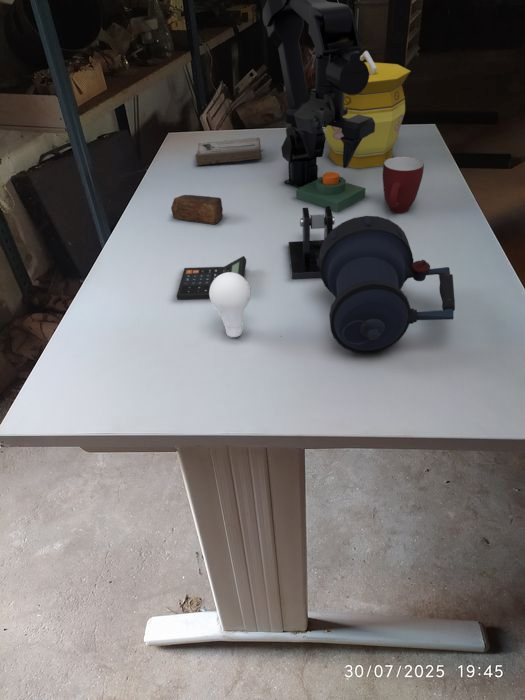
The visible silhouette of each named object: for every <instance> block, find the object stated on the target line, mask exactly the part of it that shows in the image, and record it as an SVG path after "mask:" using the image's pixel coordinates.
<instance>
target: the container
mask: <svg viewBox="0 0 525 700" xmlns="http://www.w3.org/2000/svg"><path fill="white" fill-rule="evenodd" d="M360 60H361V61H363V62H364V63H365V64H366V65H367V68H368V71H369V80H368V83H367V85H366V87H365V88H364V89H363V90H362V91H361V92H360V93H359V94H356V95H348V94H346V93H344V108H346V109H348V111H347V114H346V115H344V116H343V118H347V119H349V118H351V117H354V116H356V115H363V116H367V117H372V118H373V119H374V121H375V132H374V133H371V134H369V135H368V136H366V137H364V138H363V139H362V140H361V142H360V144H359V145H358V147H357V149H356V150H355V153H354V155H353V157H352V159H351V161H350V163H349V165H348V167H347V168H350V169H351V168H353V169H358V170H360V169H367V168H375V167H381V166H382V167H383V166H384V162H385V161H386V160H387V159H390V158H393V150H394V147H395V144H396V143H397V140H398V136H399V133H400V130H401V126H402V123H403V120H404V117H405V114H406V98H405V93H404V89H403V86H402V85H403V84H404V82H405V80H406V79H407V78H408V76H409V74H410V73H411V70H410V69H408V68H406V67H404V66H402V65H400V64H398V63H385V62H375V61H374V60H373V58H372V56H371V55H370V52H369V51H368V50H365V51H364V52H362V54H360ZM364 60H365V61H364ZM335 122H336V121H335ZM324 130H325V131H324V132H325V137H326V141H327V144H328V148H329V156H328V157H329V158H330V159H331V161H332V162H333V163H334V164H335V165H336V166H340V167H343V146H344V144H343V142H342V140H341V139H340V138H341V137H343V136H344V135H343V134H342V132H341V131H342V128H338V127H334V126H329V125H327V126H326V127H324Z"/></svg>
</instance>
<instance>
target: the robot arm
mask: <svg viewBox="0 0 525 700" xmlns="http://www.w3.org/2000/svg"><path fill="white" fill-rule="evenodd" d="M304 21H305V22H306V23H307V24H308V35H309V37H310V39H311V40H312V42H313V45H314V47H313V49H312V53H313V54H315V70H314V71H315V75H314V77H315V78H314V79H315V80H314V88H312V89H310V93H309V90H308V85H307V80H306V74H305V69H304V63H303V58H302V57H303V55H302V52H301V46H300V39H301V36H302V32H303V30H304V26H305V25H304V24H305V23H304ZM262 22H263V25H264V27H265V28H266V33H267V36H268V39H269V40H270V41H271V42H272V43H273V45H274V46H275V47H276V48H277V50H278V54H279V55H278V56H279V61H280V67H281V73H282V78H283V82H284V87H285V95H286V99H287V105H288V109H287V111H286V113H285V123H286V124H287V125H286V129H285V134H286V137H285V139H284V141H283V143H282V145H281V148H280V149H281V150H280V151H281V157H282V158H283V159H284V160H285V161H287V163H288V167H287V169H288V179H285V180H284V181H283V183H284V184H286V185H289V186H292V187H296V188H297V189H298V188H300V187H302V186H304V185H307V184H309V183H311V182H313V181H315V180H317V179H318V178H319V177H318V176H319V174H318V173H319V166H318V164H317V163H318V162H317V160H318V159H317V158H323V155H324V152H325V145H326V141H327V137H326V133H325V131H324V128H325V127H326V126H327V125H329V126H334V127H338V128H342V131H341V132H342V134H343V135H344V136H343V137H341V138H340V139H341V140H342V142H343V144H344V146H343V166H342V168H343V169H346V168H349V167H348V165H349V163H350V161H351V159H352V157H353V155H354V153H355V150H356V149H357V147H358V145H359V144H360V142H361V140H362V139H363V138H364V137H366V136H368V135H369V134H371V133H374V132H375V121H374V119H373V118H372V117H367V116H363V115H356V116H354V117H351V118H349V119H347V118H343V116H344V115H346V114H347V111H348V109H346V108H344V93H346V94H348V95H356V94H359V93H360V92H361V91H362V90H363V89H364V88H365V87H366V85H367V83H368V80H369V71H368V68H367V65H366V64H365V63H364V62H365V61H364V60H363V61H361V60H360V57H361V50H362V45H361V40H362V38H361V35H360V32H359V29H358V26H357V25H358V24H357V22H356V18H355V15H354V13H353V10H352V8H351V7H350V6H349V5H348V4H344V3H341V2H332V1H328V0H266V2H265V4H264V7H263V9H262ZM335 121H336V122H335Z"/></svg>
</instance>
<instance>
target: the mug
mask: <svg viewBox="0 0 525 700" xmlns="http://www.w3.org/2000/svg"><path fill="white" fill-rule="evenodd" d="M424 168H425V163H424V162H423V160H421V159H419V158H416V157H412V156H395V157H392V158H390V159H387V160H386V161H385V162H384V164H383V165H382V187H383V196H384V201H385V203H386V206H387V208H388V210H389V211H390V212H391V213H393V214H404V213H407V212H408V211H409V210H410V209H411V207H412V206H413V204H414V203H415V201H416V198H417V196H418V193H419V190H420V186H421V184H422V179H423V176H424V170H425V169H424Z"/></svg>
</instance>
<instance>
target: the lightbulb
mask: <svg viewBox="0 0 525 700" xmlns="http://www.w3.org/2000/svg"><path fill="white" fill-rule="evenodd" d="M209 296H210V299H209V300H210V302H211V304H212V306H213V307H214V308H215V309H216V311H218V313H219V314H220V317H221V319H222V324H223V325H224V328H225V333H226V335H227V336H228V337H231V338H237V337H240V336H241V335H242V334H243V323H244V314H245V311H246V308H247V306H248V305H249V302H250V301H251V296H252V289H251V286H250V283H249V282H248V280H247V279H246V278H245V276H244V277H242V276H241V275H239V274H237V273H233V272H227V273H223V274H221V275H219V276H217V277H216V278H215V279H214V280H213V282H212V284H211V286H210V290H209Z"/></svg>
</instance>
